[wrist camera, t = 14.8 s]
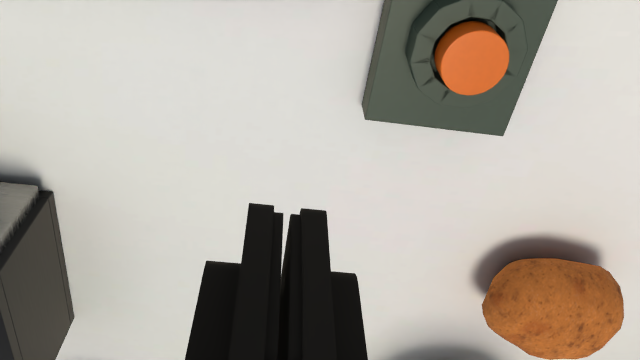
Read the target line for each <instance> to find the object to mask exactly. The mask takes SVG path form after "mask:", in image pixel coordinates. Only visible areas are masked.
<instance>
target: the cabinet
mask: <svg viewBox="0 0 640 360" xmlns="http://www.w3.org/2000/svg"><path fill="white" fill-rule="evenodd" d="M38 192H39V197H40V198H39V200H38V201H37V203H36V204H35V205H34V207H33V208H32V210H31V211H30V213H29V214H28V216H27V217H26V219H25V220H24V221H23V223H22V224H21V226H20V227H19V229H18V230H17V232H16V233H15V234H14V236H13V237H12V239H11V240H10V242H9V243H8V245H7V246H6V248H5V249H4V250H3V252H2V253H1V255H0V360H55V359H56V357H57V354H58V352H59V350H60V348H61V346H62V343H63V341H64V339H65V337H66V335H67V332H68V330H69V328H70V326H71V324H72V321H73V319H74V314H73V308H72V302H71V296H70V291H69V285H68V279H67V273H66V267H65V261H64V255H63V250H62V244H61V238H60V232H59V226H58V220H57V214H56V209H55V203H54V197H53V192H48V191H38Z"/></svg>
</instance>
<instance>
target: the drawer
mask: <svg viewBox="0 0 640 360" xmlns="http://www.w3.org/2000/svg"><path fill="white" fill-rule="evenodd" d="M39 198H40V197H39V192H38V187H37V186H35V185H25V184H15V183H5V182H0V255H1V253H2V252H3V250H4V249H5V248H6V246H7V245H8V243H9V242H10V240H11V239H12V237H13V236H14V234H15V233H16V232H17V230H18V229H19V227H20V226H21V224H22V223H23V221H24V220H25V219H26V217H27V216H28V214H29V213H30V211H31V210H32V208H33V207H34V205H35V204H36V203H37V201H38V200H39Z"/></svg>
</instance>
